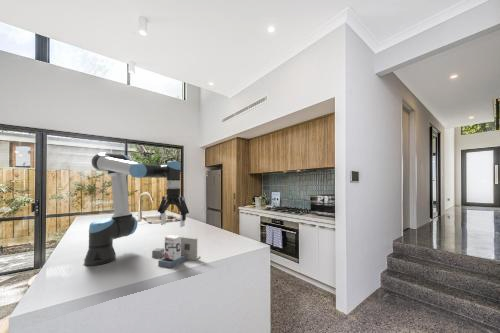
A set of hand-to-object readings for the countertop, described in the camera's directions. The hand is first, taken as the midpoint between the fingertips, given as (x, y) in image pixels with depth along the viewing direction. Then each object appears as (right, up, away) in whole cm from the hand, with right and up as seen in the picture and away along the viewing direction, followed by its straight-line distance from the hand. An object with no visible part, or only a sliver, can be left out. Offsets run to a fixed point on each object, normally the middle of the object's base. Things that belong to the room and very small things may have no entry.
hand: (172, 225), depth 124 cm
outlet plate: (+4, -21, +8) cm, 23 cm away
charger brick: (-12, -22, +10) cm, 27 cm away
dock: (+1, -21, -1) cm, 21 cm away
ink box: (0, -18, -1) cm, 18 cm away
